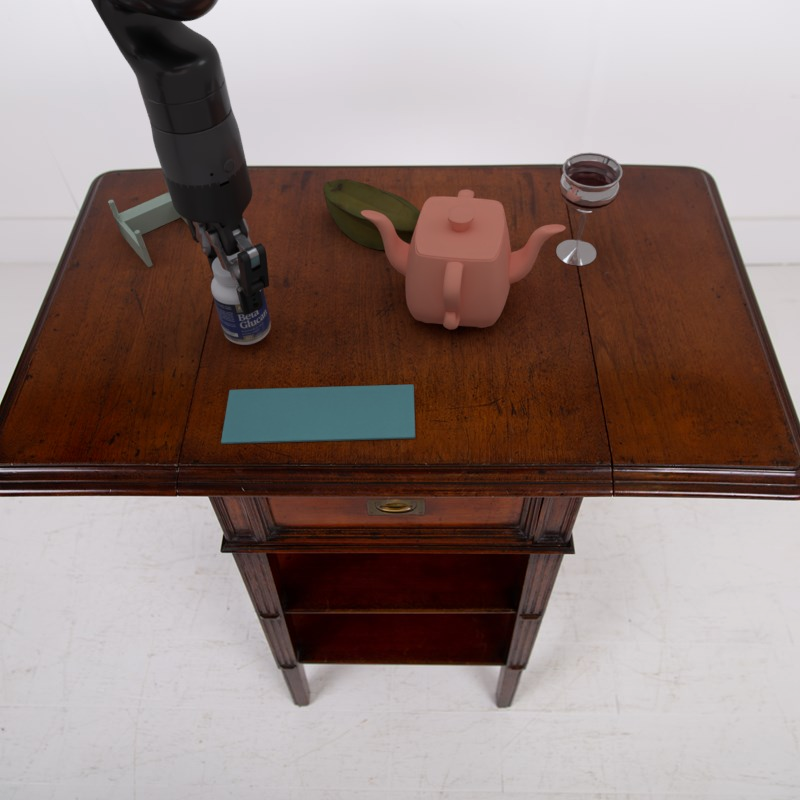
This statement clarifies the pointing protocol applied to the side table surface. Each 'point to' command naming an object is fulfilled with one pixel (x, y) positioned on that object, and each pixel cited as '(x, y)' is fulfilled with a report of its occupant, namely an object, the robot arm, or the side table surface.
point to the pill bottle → (237, 309)
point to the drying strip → (319, 414)
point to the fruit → (356, 197)
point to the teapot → (459, 259)
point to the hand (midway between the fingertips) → (238, 294)
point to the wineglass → (587, 198)
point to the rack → (144, 221)
